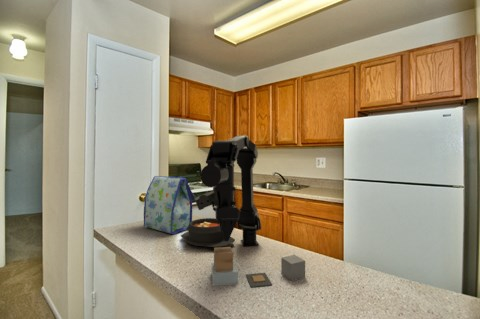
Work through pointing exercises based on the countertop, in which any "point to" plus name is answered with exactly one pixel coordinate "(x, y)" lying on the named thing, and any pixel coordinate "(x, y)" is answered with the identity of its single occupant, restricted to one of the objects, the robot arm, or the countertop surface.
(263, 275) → the mat
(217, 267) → the walnut cube
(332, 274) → the countertop surface
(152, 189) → the lunch bag
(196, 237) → the casserole
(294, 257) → the grey cube
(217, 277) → the base block
